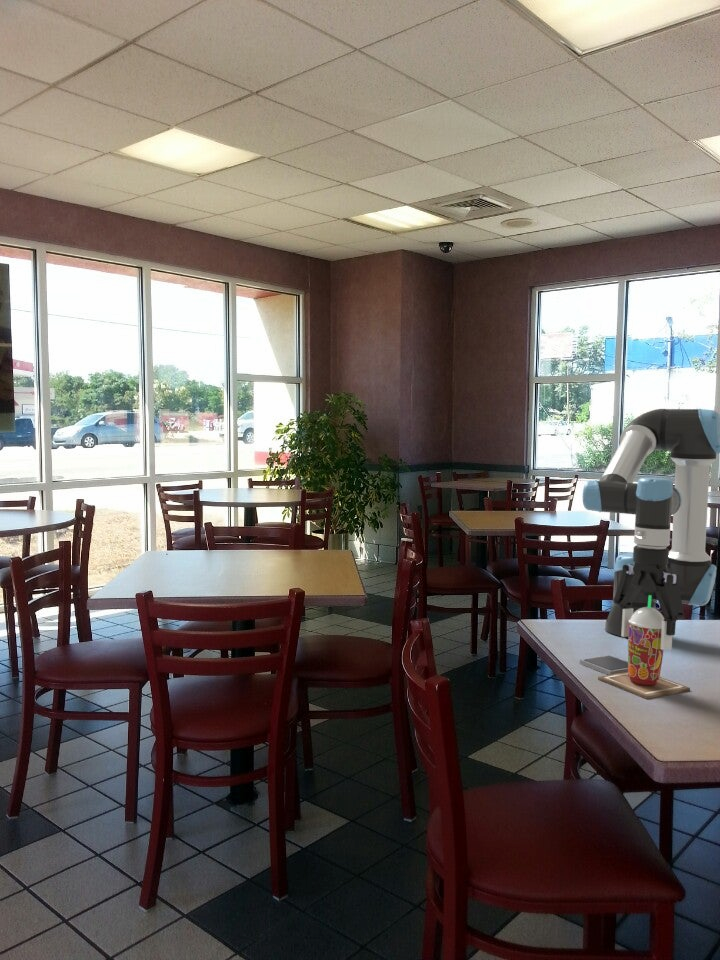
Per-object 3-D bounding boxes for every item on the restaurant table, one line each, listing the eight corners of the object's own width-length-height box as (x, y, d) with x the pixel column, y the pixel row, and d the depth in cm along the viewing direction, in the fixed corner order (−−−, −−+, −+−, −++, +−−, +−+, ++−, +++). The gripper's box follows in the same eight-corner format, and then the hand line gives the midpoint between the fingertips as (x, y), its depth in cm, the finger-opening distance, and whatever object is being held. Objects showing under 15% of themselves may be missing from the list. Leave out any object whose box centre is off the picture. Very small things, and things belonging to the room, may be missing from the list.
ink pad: (609, 659, 196) (609, 654, 195) (640, 670, 187) (640, 665, 187) (579, 663, 191) (580, 659, 191) (610, 675, 182) (610, 670, 182)
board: (640, 672, 185) (640, 669, 185) (690, 690, 173) (690, 687, 173) (598, 679, 179) (598, 676, 179) (646, 698, 166) (646, 695, 166)
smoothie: (615, 677, 178) (622, 592, 177) (643, 674, 181) (650, 591, 180) (642, 689, 170) (649, 600, 169) (670, 686, 174) (678, 598, 173)
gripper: (601, 539, 182) (596, 631, 184) (682, 555, 162) (676, 658, 163) (623, 538, 186) (618, 628, 187) (706, 553, 166) (700, 654, 167)
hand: (645, 642), depth 175 cm, fingers open, 10 cm apart
